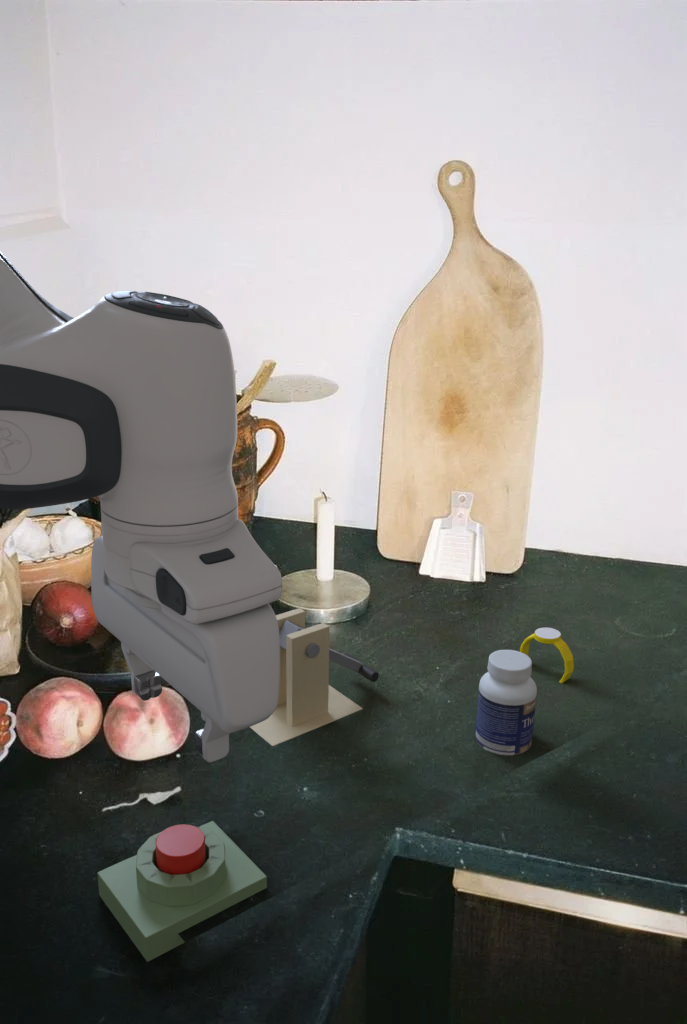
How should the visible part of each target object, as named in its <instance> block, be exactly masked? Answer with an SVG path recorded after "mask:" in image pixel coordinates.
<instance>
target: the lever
mask: <svg viewBox="0 0 687 1024" xmlns="http://www.w3.org/2000/svg"><path fill="white" fill-rule="evenodd" d="M303 629H306V627H305V628H302V627H300V626H298V625H296V624H294V623H291V622H289V621H287V620H286V621H285V623H284V625H283V627H282V629H281V630H280V632H279V634H280V646H281V647H283V648H284V649H286V635H288V634H291V633H294V632H297V631H300V630H303ZM330 661H331V662H333V663H335V664H337V665H340V666H342V667H344V668H347V669H349V670H351V671H354V672H355V673H358V674H359V675H361V676H362V677H364V678H366V679H367V680H368V681H370V682H372V683H375V682H377V681H378V679H379V676H380V675H379V674H380V673H378V672H377V671H376V670H374V669H372V668H371V667H369V666H368V665H366V664H365V663H363V662H361V661H360V660H358V659H357V658H356V657H354V656H352V655H351V654H349V653H341V652H339V651H337V650H335V649H332V648H330V647H329V662H330Z"/></svg>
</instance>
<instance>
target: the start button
mask: <svg viewBox="0 0 687 1024" xmlns="http://www.w3.org/2000/svg"><path fill="white" fill-rule="evenodd" d="M195 826H196V825H192V824H188V823H187V824H186V823H185V824H184V823H181V824H175V825H171V826H169V827H167V828H165V829H162V831H160V832H161V833H160V832H159V833H160V834H159V835H158V837H157V839H156V859H157V865H158V867H159V869H160V870H161V871H163V872H164V873H167V874H170V875H181V874H189V873H191V872H193V871H196V870H198V869H199V868H200V867H201V866H202V865H203V863H204V861H205V857H206V854H205V836H204V834H203V832H202V831H201V830H200V829H199V828H197V827H198V826H196V827H195Z"/></svg>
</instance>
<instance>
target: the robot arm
mask: <svg viewBox="0 0 687 1024" xmlns="http://www.w3.org/2000/svg"><path fill="white" fill-rule="evenodd" d="M233 358H234V357H233V353H232V346H231V342H230V339H229V336H228V333H227V330H226V328H225V327H224V325H223V324H222V322H221V321H220V320H219V319H218V317H217V316H216V315H214V314H213V313H212V312H211V310H208V309H207V308H206V307H205V306H202V305H201V304H198V303H195V302H192V301H190V300H188V299H184V298H180V297H177V296H172V295H169V294H163V293H159V292H158V293H156V292H151V291H136V290H119V291H118V290H117V291H114V292H111V293H107V294H105V295H103V297H101V299H99V300H98V302H96V303H95V304H94V305H92V307H90V308H88V309H87V310H86V311H83V312H82V313H80V314H79V315H77V316H75V317H73V316H71V315H69V314H68V313H66V312H64V311H63V310H61V309H59V308H58V307H56V306H54V304H52V303H51V302H49V301H48V300H47V299H45V298H44V297H43V296H42V295H41V294H40V293H38V292H37V290H36V289H34V287H33V286H32V285H31V284H30V283H29V282H28V281H27V279H26V278H24V276H23V275H22V273H20V272H19V270H18V269H16V267H15V266H14V265H13V264H12V263H11V261H10V260H9V259H8V258H7V256H6V255H4V253H3V252H2V251H1V250H0V509H3V510H12V511H13V510H15V511H17V510H31V509H35V508H36V509H38V508H46V507H53V506H60V505H66V504H71V503H78V502H82V501H85V500H90V499H94V498H96V497H97V498H99V500H100V515H101V516H100V518H101V519H100V520H101V522H100V523H101V525H100V527H101V529H100V530H101V535H100V536H98V537H96V538H95V539H94V541H93V544H92V548H91V549H92V550H91V563H90V584H91V585H90V588H91V589H90V592H91V593H90V594H91V595H90V596H91V606H92V609H93V613H94V615H95V618H96V621H97V622H98V623H99V624H100V625H101V626H102V627H104V628H105V629H106V630H107V631H108V632H109V633H110V634H111V635H113V636H114V637H115V638H116V639H117V640H118V641H120V648H121V650H122V653H123V657H124V659H125V662H126V665H127V668H128V670H129V673H130V681H131V691H132V693H134V694H135V695H136V696H137V697H138V698H140V699H141V700H142V701H143V702H144V701H145V702H146V701H149V700H150V699H154V698H158V697H160V695H161V694H162V692H163V687H162V682H163V680H164V681H165V682H167V683H168V684H169V685H170V686H171V687H172V688H174V690H176V691H177V693H179V694H181V696H183V697H184V698H185V699H186V700H187V701H188V702H190V703H191V705H193V706H194V707H195V708H196V709H198V710H199V711H200V717H201V719H202V720H203V721H204V722H205V724H204V726H203V728H201V729H198V730H196V731H195V732H194V741H195V747H194V748H195V751H196V752H197V753H198V754H199V756H201V757H202V758H203V759H204V760H205V761H206V762H207V763H213V762H216V761H218V760H221V759H225V757H227V756H228V754H229V752H230V734H233V733H236V732H239V731H242V730H244V729H248V728H250V726H253V725H255V724H258V723H260V722H262V721H265V720H266V719H268V718H269V717H270V716H271V715H272V714H273V712H274V711H275V710H276V708H277V705H278V700H279V689H280V634H279V627H278V622H277V619H276V615H277V614H276V613H275V611H274V609H273V608H272V606H271V605H270V604H271V603H273V602H276V601H278V600H280V599H281V597H282V595H283V577H282V573H281V571H280V569H279V568H278V567H277V566H276V565H275V564H276V563H274V562H273V561H272V560H271V558H270V557H268V555H267V554H266V553H265V552H264V551H263V550H262V548H261V547H260V545H259V544H258V543H257V542H256V540H255V539H254V537H253V536H252V534H251V533H250V531H249V529H248V527H247V525H246V524H245V522H244V521H243V520H242V519H239V495H238V490H237V485H236V484H235V481H234V480H235V479H234V477H233V467H232V466H233V457H234V452H235V450H236V446H237V442H238V399H237V398H238V397H237V384H236V374H235V365H234V364H235V363H234V359H233Z"/></svg>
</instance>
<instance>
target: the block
mask: <svg viewBox="0 0 687 1024" xmlns="http://www.w3.org/2000/svg"><path fill="white" fill-rule="evenodd" d="M194 826H195V827H197V828H199V829H200V830H201V831H202V832H203V834H204V836H205V854H206V857H205V861H204V863H203V865H202V866H201V867H200V868H199V869H198V870H196V871H193V872H191V873H189V874H181V875H170V874H167V873H164V872H163V871H161V870H160V869H159V867H158V865H157V859H156V839H157V837H158V835H159V834H160V833H161V832H162V831H160V832H157V833H155V834H153V835H151V836H149V837H148V838H147V839H146V840H145V842H144V843H143V844H142V845H141V846H140V847H139V848H138V850H137V852H136V854H135V855H132V856H131V857H128V858H126V859H124V860H122V861H120V862H117V863H115V864H113V865H110V866H109V867H106V868H104V869H102V870H100V871H98V872H97V873H96V874H97V885H98V893H99V894H98V895H99V897H100V898H101V900H102V901H103V903H104V904H105V905H106V907H107V908H108V909H109V911H110V912H111V914H112V915H113V917H114V918H115V919H116V921H117V922H118V923H119V925H120V926H121V928H122V929H123V931H124V932H125V933H126V934H127V936H128V937H129V939H130V940H131V941H132V943H133V944H134V946H135V947H136V949H137V950H138V951H139V952H140V954H141V955H142V957H143V958H144V960H145V961H146V963H148V962H151V961H152V960H154V959H156V958H158V957H160V956H161V955H163V954H165V953H168V952H169V951H171V950H173V949H175V948H177V947H179V946H181V945H182V944H184V943H186V941H185V940H184V939H183V938H182V935H180V933H182V932H184V931H187V930H188V929H190V928H192V927H194V926H196V925H198V924H200V923H201V922H203V921H205V920H208V919H209V918H211V917H213V916H215V915H217V914H219V913H221V912H223V911H225V910H226V909H229V908H231V907H232V906H235V905H237V904H239V903H241V902H243V901H244V900H246V899H248V898H250V897H251V896H254V895H255V894H257V893H260V892H261V891H263V890H266V889H267V888H268V876H267V875H266V874H265V873H264V872H263V871H262V870H261V869H260V868H259V866H258V865H256V864H255V863H254V861H253V860H252V859H250V857H249V856H248V855H247V854H246V853H245V852H244V851H243V850H242V849H241V848H240V847H239V846H238V845H237V844H236V842H234V840H233V839H231V837H229V836H228V834H226V833H225V832H224V830H223V829H221V828H220V827H219V826H218V825H217V823H216V822H215V821H214V820H210V821H209V822H207V823H204V824H201V825H200V826H196V825H194Z"/></svg>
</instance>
